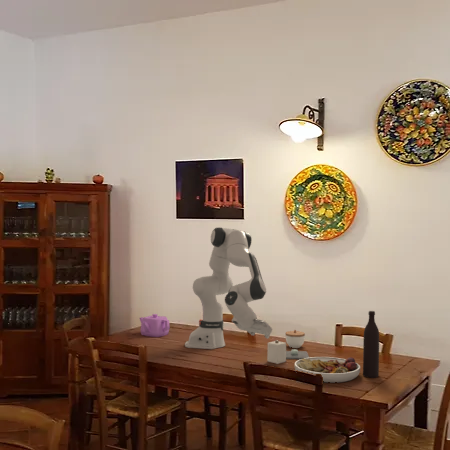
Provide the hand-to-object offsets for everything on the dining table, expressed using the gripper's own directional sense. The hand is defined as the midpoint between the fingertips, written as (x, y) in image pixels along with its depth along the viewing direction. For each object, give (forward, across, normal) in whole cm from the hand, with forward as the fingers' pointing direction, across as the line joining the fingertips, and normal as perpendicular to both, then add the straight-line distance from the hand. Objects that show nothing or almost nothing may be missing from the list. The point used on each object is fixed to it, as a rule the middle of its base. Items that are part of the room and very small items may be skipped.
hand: (260, 335), depth 296 cm
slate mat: (+30, +1, -9) cm, 31 cm away
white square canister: (+19, 0, +2) cm, 19 cm away
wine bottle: (+28, -47, -6) cm, 55 cm away
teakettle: (+15, +93, +6) cm, 94 cm away
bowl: (+18, -32, +3) cm, 37 cm away
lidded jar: (+42, +14, -21) cm, 49 cm away
